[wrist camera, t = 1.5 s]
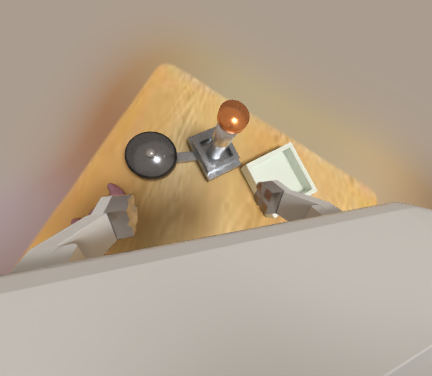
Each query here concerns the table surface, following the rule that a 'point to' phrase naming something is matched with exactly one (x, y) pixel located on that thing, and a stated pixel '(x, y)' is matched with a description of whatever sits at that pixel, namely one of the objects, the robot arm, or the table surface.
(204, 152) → the block
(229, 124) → the pin
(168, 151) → the disc
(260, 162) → the tray
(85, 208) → the table surface
